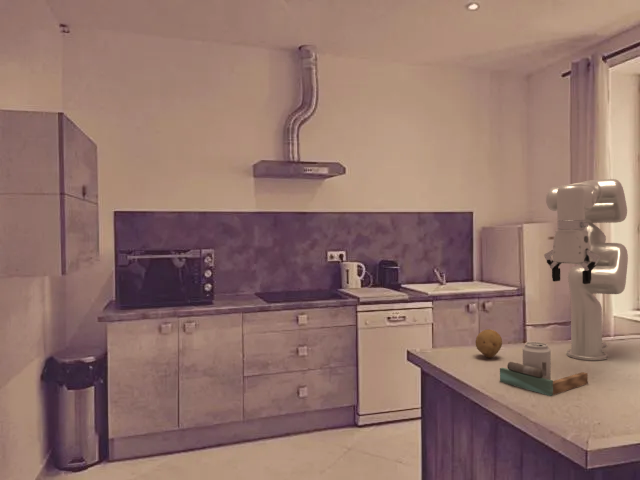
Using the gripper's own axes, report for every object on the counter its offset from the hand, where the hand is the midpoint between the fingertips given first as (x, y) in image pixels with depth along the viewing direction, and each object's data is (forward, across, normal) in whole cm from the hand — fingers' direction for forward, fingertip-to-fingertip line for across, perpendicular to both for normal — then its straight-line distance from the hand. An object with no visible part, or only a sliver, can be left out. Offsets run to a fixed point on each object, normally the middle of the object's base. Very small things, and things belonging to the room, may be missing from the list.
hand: (571, 282), depth 160 cm
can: (+28, 0, +18) cm, 34 cm away
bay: (+28, 0, +14) cm, 32 cm away
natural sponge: (+28, +28, +4) cm, 40 cm away
